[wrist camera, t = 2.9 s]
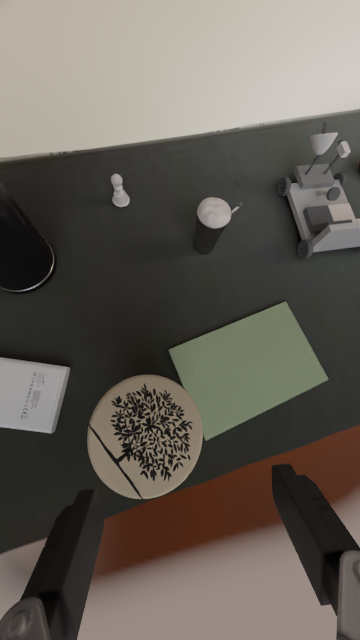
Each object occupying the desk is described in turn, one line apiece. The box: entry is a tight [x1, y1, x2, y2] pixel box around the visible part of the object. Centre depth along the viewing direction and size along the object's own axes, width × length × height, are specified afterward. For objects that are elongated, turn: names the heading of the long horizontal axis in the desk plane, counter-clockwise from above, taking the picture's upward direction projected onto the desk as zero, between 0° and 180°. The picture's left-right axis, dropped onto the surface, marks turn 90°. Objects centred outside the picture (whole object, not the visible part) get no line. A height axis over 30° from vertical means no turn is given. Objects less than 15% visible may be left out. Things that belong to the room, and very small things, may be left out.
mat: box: [168, 301, 328, 440], centre depth 36 cm, size 20×13×1 cm, turn 113°
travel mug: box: [87, 373, 203, 499], centre depth 25 cm, size 8×8×18 cm
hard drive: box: [0, 357, 70, 433], centre depth 32 cm, size 2×8×12 cm
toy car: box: [278, 123, 360, 259], centre depth 39 cm, size 18×10×12 cm
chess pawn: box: [111, 174, 130, 207], centre depth 39 cm, size 3×3×5 cm
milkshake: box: [194, 197, 242, 254], centre depth 36 cm, size 4×5×10 cm
